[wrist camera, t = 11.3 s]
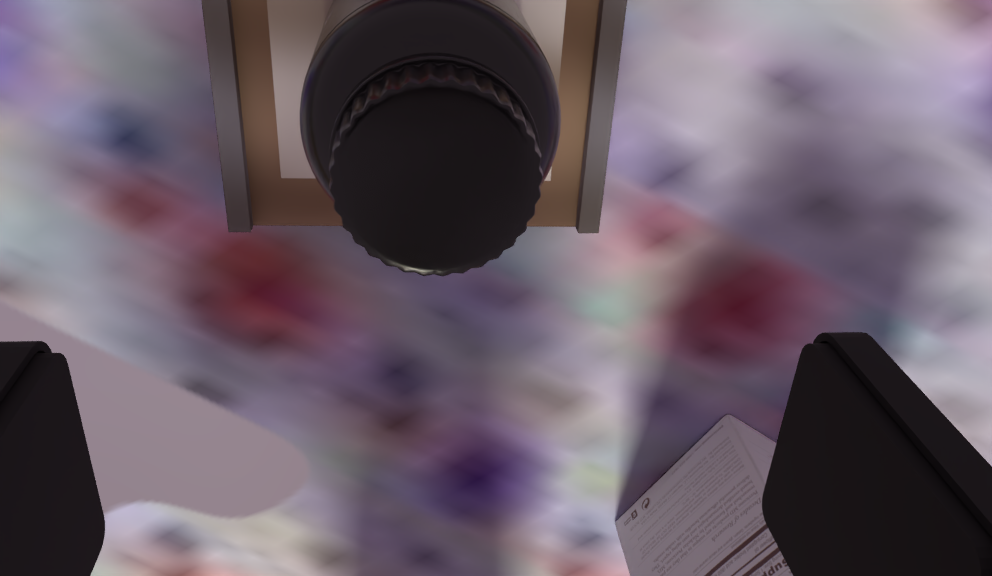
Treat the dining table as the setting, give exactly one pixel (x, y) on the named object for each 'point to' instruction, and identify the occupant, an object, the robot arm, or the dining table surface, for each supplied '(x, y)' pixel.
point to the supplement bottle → (430, 127)
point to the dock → (279, 82)
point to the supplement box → (706, 511)
